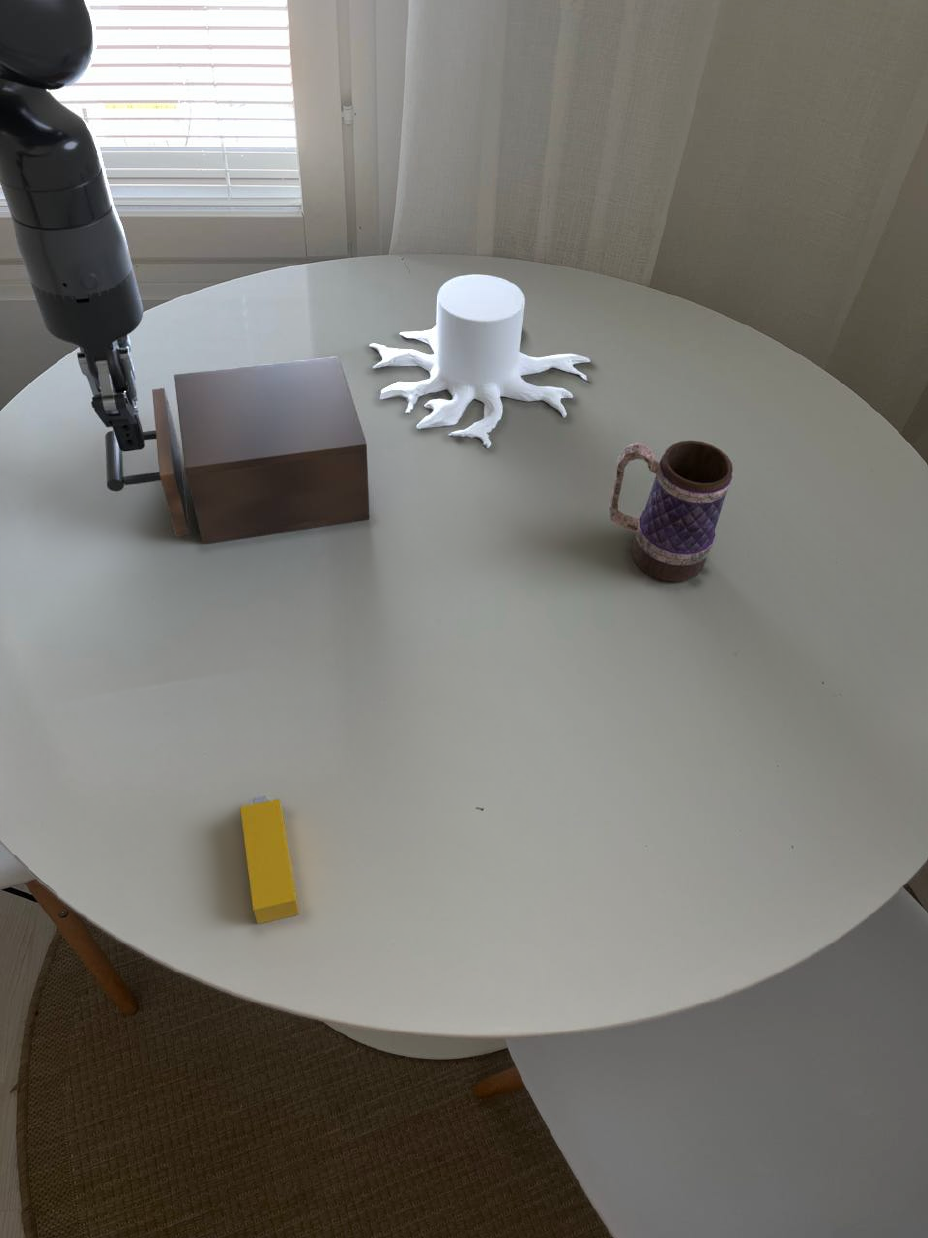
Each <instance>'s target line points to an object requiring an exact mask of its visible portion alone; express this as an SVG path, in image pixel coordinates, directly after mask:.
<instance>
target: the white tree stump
mask: <svg viewBox="0 0 928 1238" xmlns="http://www.w3.org/2000/svg"><path fill="white" fill-rule="evenodd" d="M436 294H437V295H436V296H437V297H436V325H434V327H433V328H431V329H427V330H421V331H420V330H415V331H401V332H400V333H399V335H401V336H403V337H404V338H406V339H415V340H418V341H419V342H422V343H424V344H428V345H429V347H430V348H431V349H432V351H433V353H434V354H427V353H424V352H421V351H419V350H417V349H416V350H415V349H412V348H411V349H410V348H409V349H407V348H395V347H387V346H386V345H382V344H378V343H371V344H369V347H370V348H372V349H375V350H376V351H377V352H378V353H379V355H380V357H381V361H379V362H378V363H377V364H375V365H373V366H372V369H373V370H374V369H375V370H376V369H380V368H386V367H420V368H422V369H423V370H425V371H427V372H428V373H429V376H430V377H429V378H428V379H425V380H420V381H412V382H404V381H401V380H398V381H397V382H396V383H394V382H393V383H391V384H389V385H388V386H386V387H384V388H382V389H381V391H380V395H379V400H385V399H388V398H392V397H393V398H394V397H395V398H396V397H401V398H404V399H406V402H408V404H407V407H406V410H405V413H411V410H413V409H414V405H415V404H417V403H418V399H419V397H421V396H424V395H428V394H431V393H434V394H435V393H437V392H442V391H445V390H447V391H448V392H449V393H450V396H451V397H452V399H451V400H449V399H445V398H437V399H435V398H434V399H431V400H428V401H427V402H426V403H425V404H424V405H423V406H424V408H426V409H431V410H432V412H431V413H430V414H428V415H426V416H424V417H423V418H422V419H421V420H420V421H419V422H418V424H416V426H415V429H417V430H420V429H430V428H440V427H444V426H445V427H449V426H451V427H452V426H454V425H456V424H458V422H459V421H460V419H461V418H462V416H463V415H464V412H466V411H465V410H466V409H467V407H468V405H469V404H470V403H471V402H473V400H477V401H479V402H481V403H482V404H483V405H484V409H483V418H481V420H478V421H475V422H473V423H472V425H469V426H468V427H467V428H465V429H459V430H455V431H452V432H450V433H449V434H448V436H450V437H461V438H464V437H466V438H467V437H468V438H470V439H473V438H478V439H480V440H481V441H482V445H483V446H485V447H486V448H487V449H488V448H490V447H491V445H492V442H491V440H490V435H489V434H488V433H491V432H492V430H493V429H495V428H497V427H496V426H497V425H498V422H499V421H500V420H501V419H502V417H503V416H502V415H503V413H504V411H503V408H504V407H503V406H504V405H503V403H502V400H501V397H506V398H507V399H508V398H509V399H513V400H518V401H523V402H537V401H543V402H545V403H547V404H549V406H551V407H552V408H553V409H555V410H557V411H558V412H559V413H560V414H561V416H562V418H566V417H567V415H568V413H567V410H566V408H565V406H564V405H563V404H562V399H573V398H574V395H573V393H572V392H571V391H569V390H567V389H565V388H564V387H556V386H552V385H549V386H548V385H546V386H545V385H544V386H542V385H541V386H539V385H538V386H537V385H536V384H535V385H534V384H531V383H529V382H526V381H525V380H524V378H522V376H527V375H535V374H540V373H542V372H545V371H548V370H550V369H552V368H553V369H556V370H557V369H558V370H560V371H564V372H566V373H571V374H573V375H579V376H580V377H581V378H582V379H583V380H585V381H586V382H588V378H587V374H584V373H582V372H581V371H579V370H578V369H577V368H576V367H574V365H576V364H583V363H584V364H586V363H588V364H589V363H591V359H590V358H589V357H587V356H583V355H580V354H575V353H563V354H562V353H560V354H558V353H557V354H554V355H553V354H552V355H547V356H541V357H536V356H529V355H527V354H525V353H522V352H521V351H520V350H521V339H522V333H523V332H522V331H523V322H524V313H525V306H526V305H525V303H526V298H525V294H524V292H523V291H522V290H521V288H520V287H519V286H517V284H515V283H513V282H510V281H509V280H508V279H504V278H502V277H498V276H494V275H490V274H488V275H487V274H477V273H476V274H475V273H474V274H466V275H459V276H455V277H453V278H451V279H450V280H447V281H445V282H444V283H443V284H442V286H440V287H439V289H438V291H437V293H436Z"/></svg>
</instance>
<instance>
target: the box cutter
mask: <svg viewBox="0 0 928 1238" xmlns="http://www.w3.org/2000/svg"><path fill="white" fill-rule="evenodd" d="M239 810H240V818H241V826H242V832H243V834H242V835H243V841H244V848H245V849H244V850H245V856H246V857H245V858H246V864H247V871H248V880H249V888H250V896H251V902H252V909H253V914H254V916H255V920H256V923H257V924H264V923H267V922H272V921H276V920H280V919H284V918H288V917H289V918H290V917H293V916H297V915H299V914H300V910H299V905H298V900H297V899H298V898H297V893H296V886H295V880H294V874H293V867H292V863H291V856H290V850H289V844H288V837H287V831H286V825H285V818H284V813H283V809H282V804H281V799H280V798H276V799H271V800H268V796H267V795H266V794H265V795H264V794H263V795H261V796H255V797H252V803H251V804H249V805H243V806H240V808H239Z"/></svg>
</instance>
